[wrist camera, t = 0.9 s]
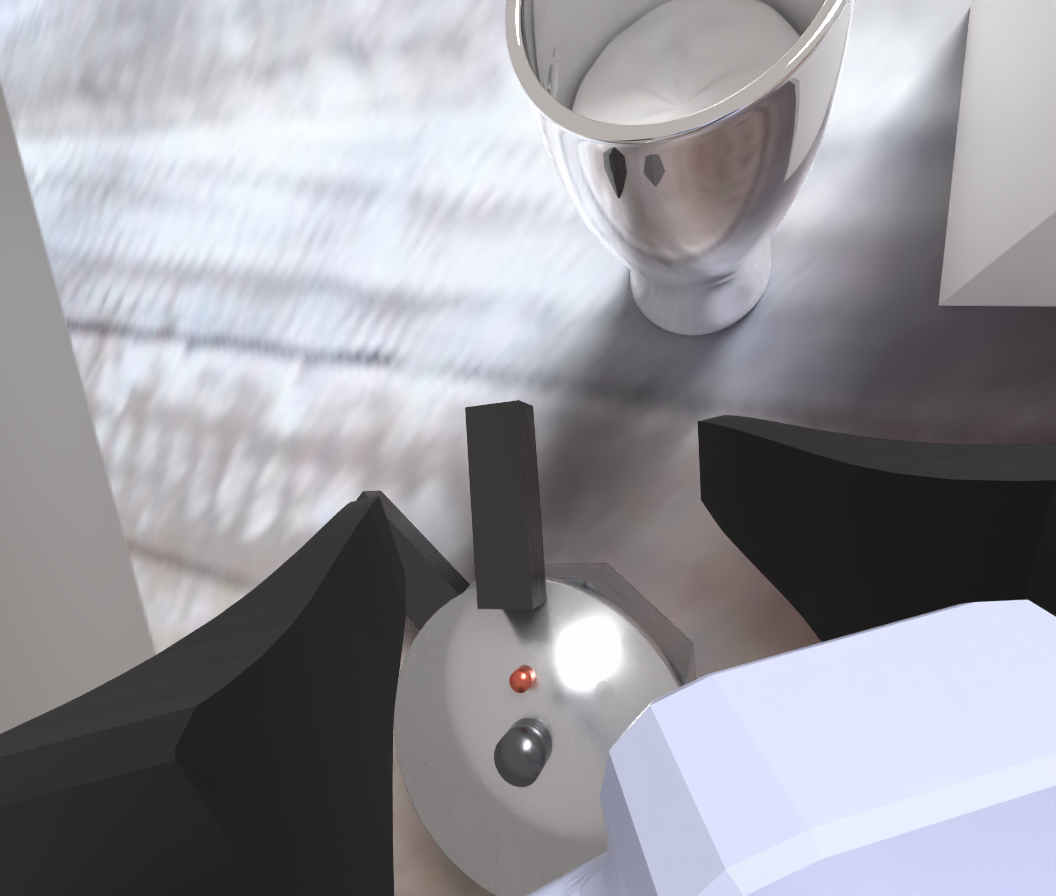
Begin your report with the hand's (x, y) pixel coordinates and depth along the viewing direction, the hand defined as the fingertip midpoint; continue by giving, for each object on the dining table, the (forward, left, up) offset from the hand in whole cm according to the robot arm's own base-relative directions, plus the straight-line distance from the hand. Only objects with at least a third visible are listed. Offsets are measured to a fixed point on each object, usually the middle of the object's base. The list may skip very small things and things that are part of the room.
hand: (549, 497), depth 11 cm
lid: (-1, +7, -9) cm, 12 cm away
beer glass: (+4, -9, -14) cm, 17 cm away
